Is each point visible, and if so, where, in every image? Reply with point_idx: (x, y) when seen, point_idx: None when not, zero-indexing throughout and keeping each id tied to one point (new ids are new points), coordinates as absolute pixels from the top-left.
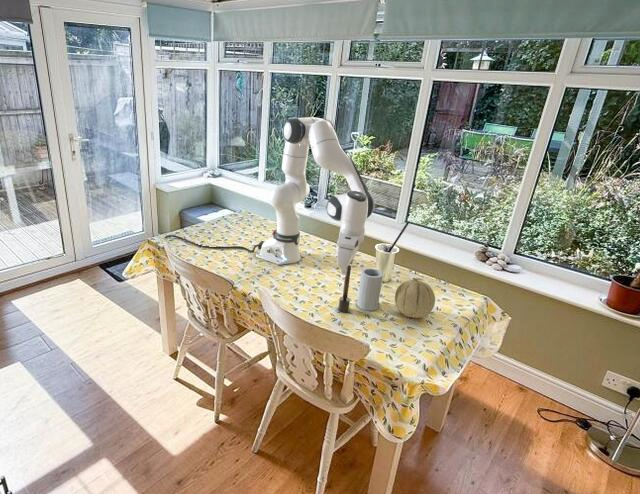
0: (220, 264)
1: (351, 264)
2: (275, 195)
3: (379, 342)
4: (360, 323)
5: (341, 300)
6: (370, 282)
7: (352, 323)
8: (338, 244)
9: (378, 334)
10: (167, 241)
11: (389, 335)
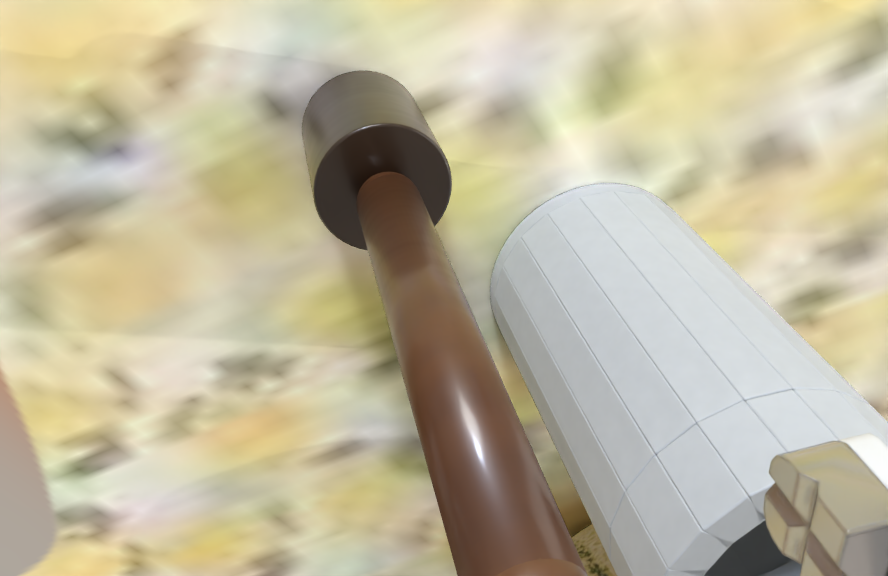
0: None
1: (765, 517)
2: None
3: (84, 559)
4: (235, 358)
5: (320, 173)
6: (613, 560)
7: (177, 307)
8: None
9: (186, 514)
10: None
11: (236, 563)
